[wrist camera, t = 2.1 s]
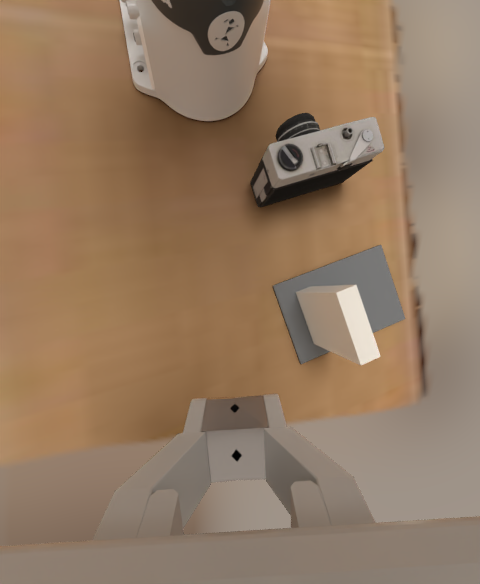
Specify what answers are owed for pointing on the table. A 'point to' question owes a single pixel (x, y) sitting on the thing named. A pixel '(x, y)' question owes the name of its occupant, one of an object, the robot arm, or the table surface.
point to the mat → (350, 271)
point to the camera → (313, 157)
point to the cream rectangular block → (339, 321)
